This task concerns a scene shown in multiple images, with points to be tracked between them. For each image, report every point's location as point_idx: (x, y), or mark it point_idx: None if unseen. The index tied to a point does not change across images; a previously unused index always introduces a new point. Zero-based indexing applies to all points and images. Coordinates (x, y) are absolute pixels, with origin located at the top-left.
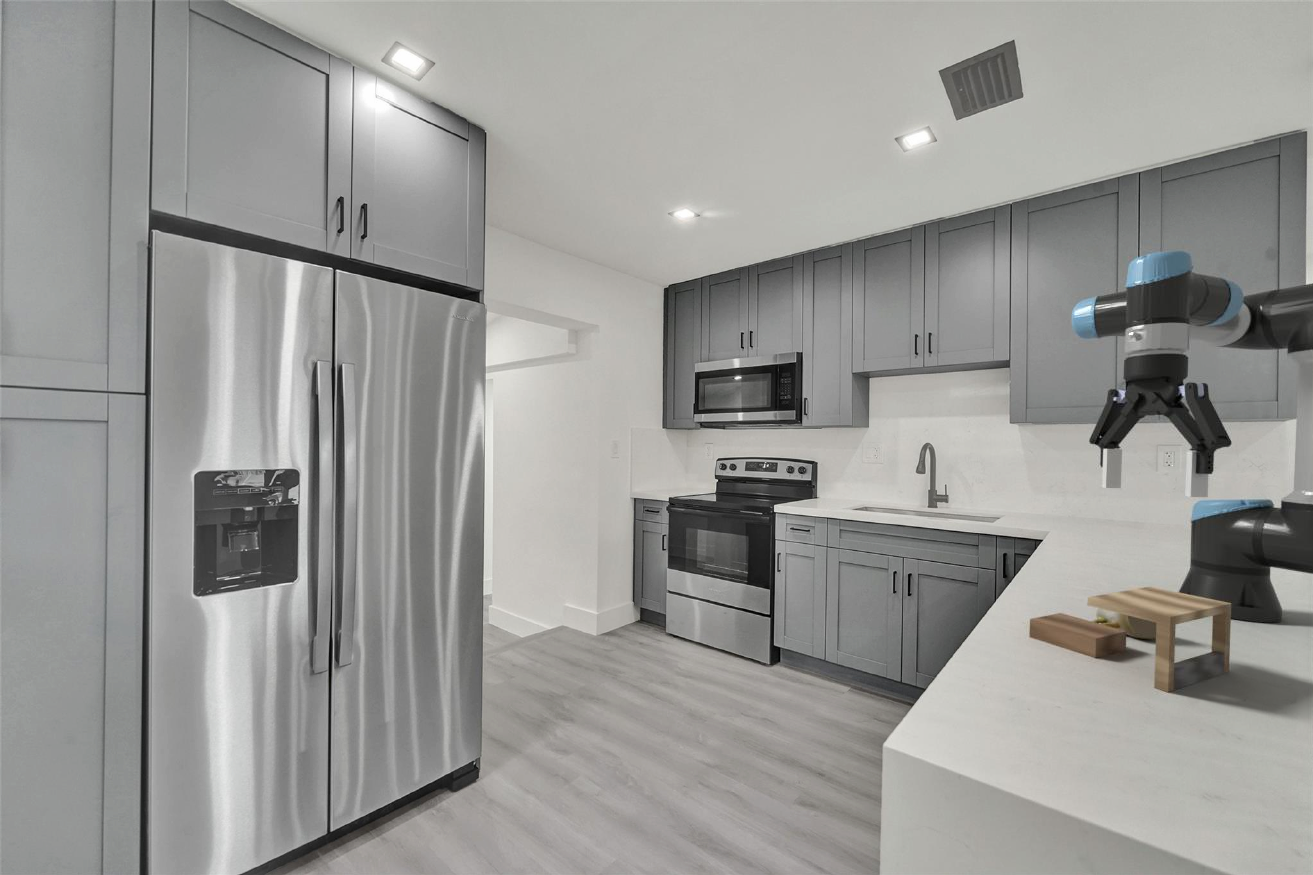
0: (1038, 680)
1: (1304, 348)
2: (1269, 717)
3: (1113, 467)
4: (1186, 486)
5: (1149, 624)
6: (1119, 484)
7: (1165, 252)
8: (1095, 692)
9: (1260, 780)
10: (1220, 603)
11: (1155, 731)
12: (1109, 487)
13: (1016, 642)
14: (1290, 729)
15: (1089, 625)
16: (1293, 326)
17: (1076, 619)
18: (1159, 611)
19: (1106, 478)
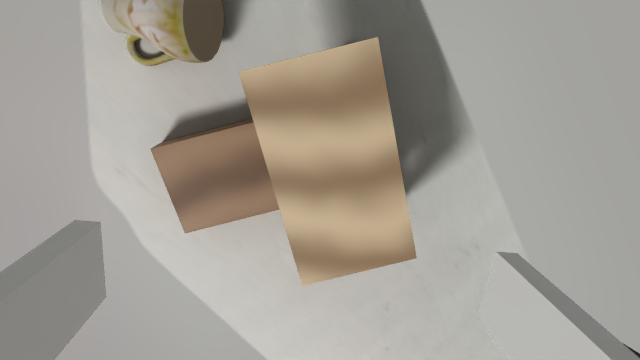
0: (332, 322)
1: None
2: (460, 164)
3: (27, 343)
4: (501, 347)
5: (212, 17)
6: (88, 237)
7: None
8: (369, 289)
9: None
10: (374, 65)
11: (445, 307)
12: (102, 280)
13: (215, 256)
14: (483, 174)
15: (222, 160)
16: None
17: (189, 153)
18: (390, 245)
19: (78, 329)
